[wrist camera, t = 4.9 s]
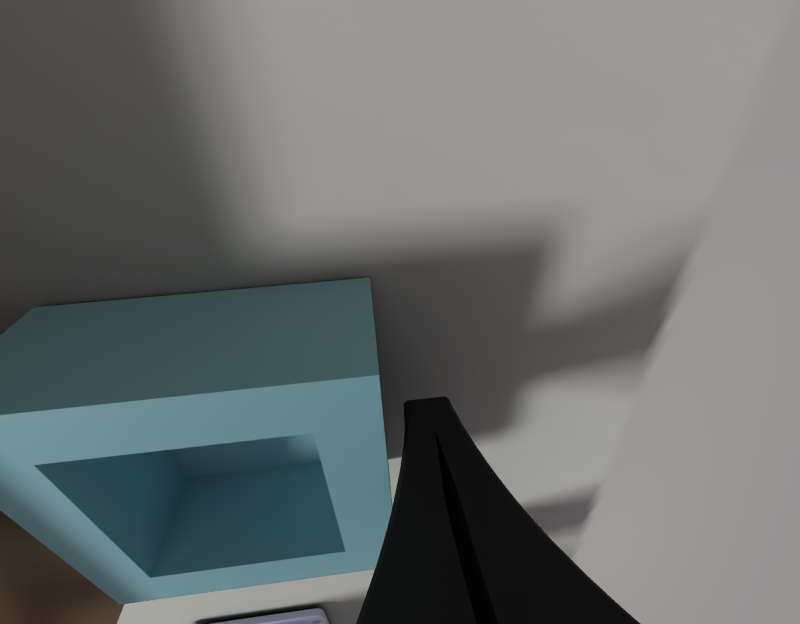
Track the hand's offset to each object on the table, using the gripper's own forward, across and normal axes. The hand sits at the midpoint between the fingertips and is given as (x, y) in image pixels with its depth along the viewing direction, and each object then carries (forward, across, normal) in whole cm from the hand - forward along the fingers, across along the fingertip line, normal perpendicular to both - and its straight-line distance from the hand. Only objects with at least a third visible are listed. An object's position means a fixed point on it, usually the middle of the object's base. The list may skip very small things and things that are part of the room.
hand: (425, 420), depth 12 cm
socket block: (+2, +6, 0) cm, 6 cm away
